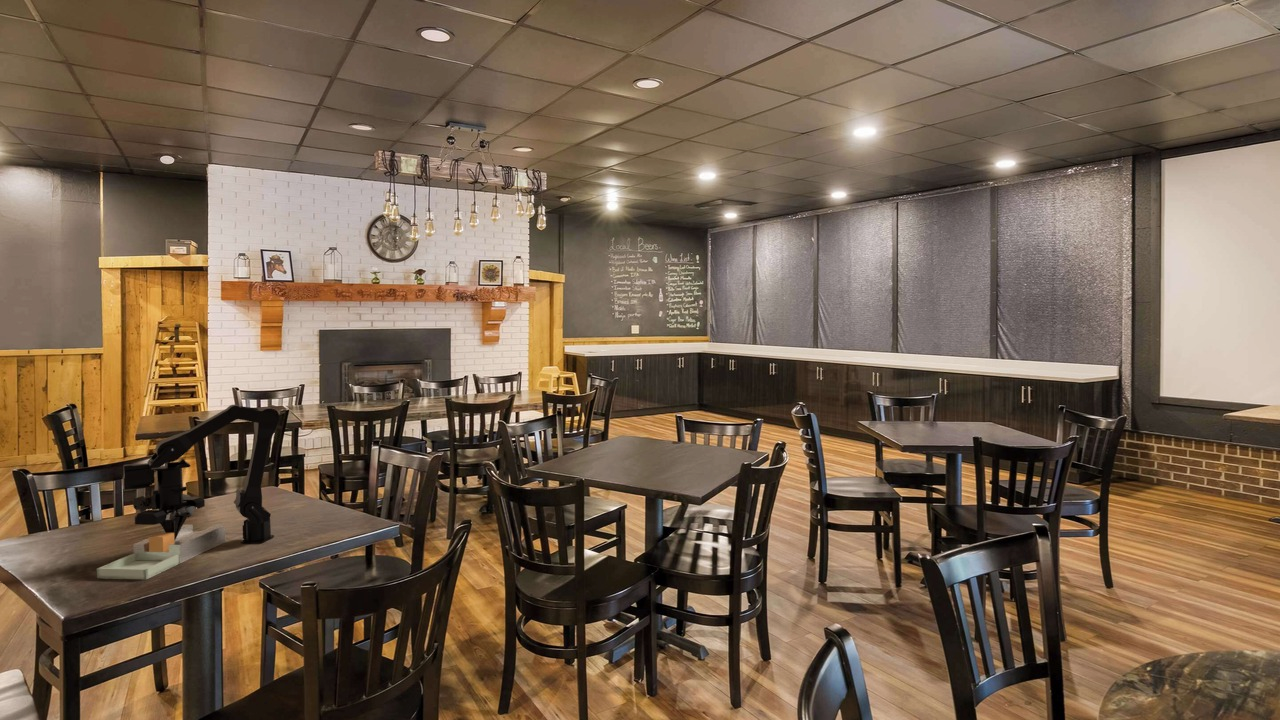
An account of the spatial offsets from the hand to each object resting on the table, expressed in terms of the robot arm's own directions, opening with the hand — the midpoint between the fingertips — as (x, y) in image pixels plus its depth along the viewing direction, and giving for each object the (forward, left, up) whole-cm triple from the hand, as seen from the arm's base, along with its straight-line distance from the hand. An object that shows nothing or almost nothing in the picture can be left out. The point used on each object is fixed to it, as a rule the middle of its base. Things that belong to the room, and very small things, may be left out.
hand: (172, 540), depth 187 cm
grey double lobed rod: (+30, -44, -5) cm, 53 cm away
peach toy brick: (0, +4, -1) cm, 4 cm away
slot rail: (0, -3, -4) cm, 5 cm away
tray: (0, +12, -4) cm, 12 cm away
